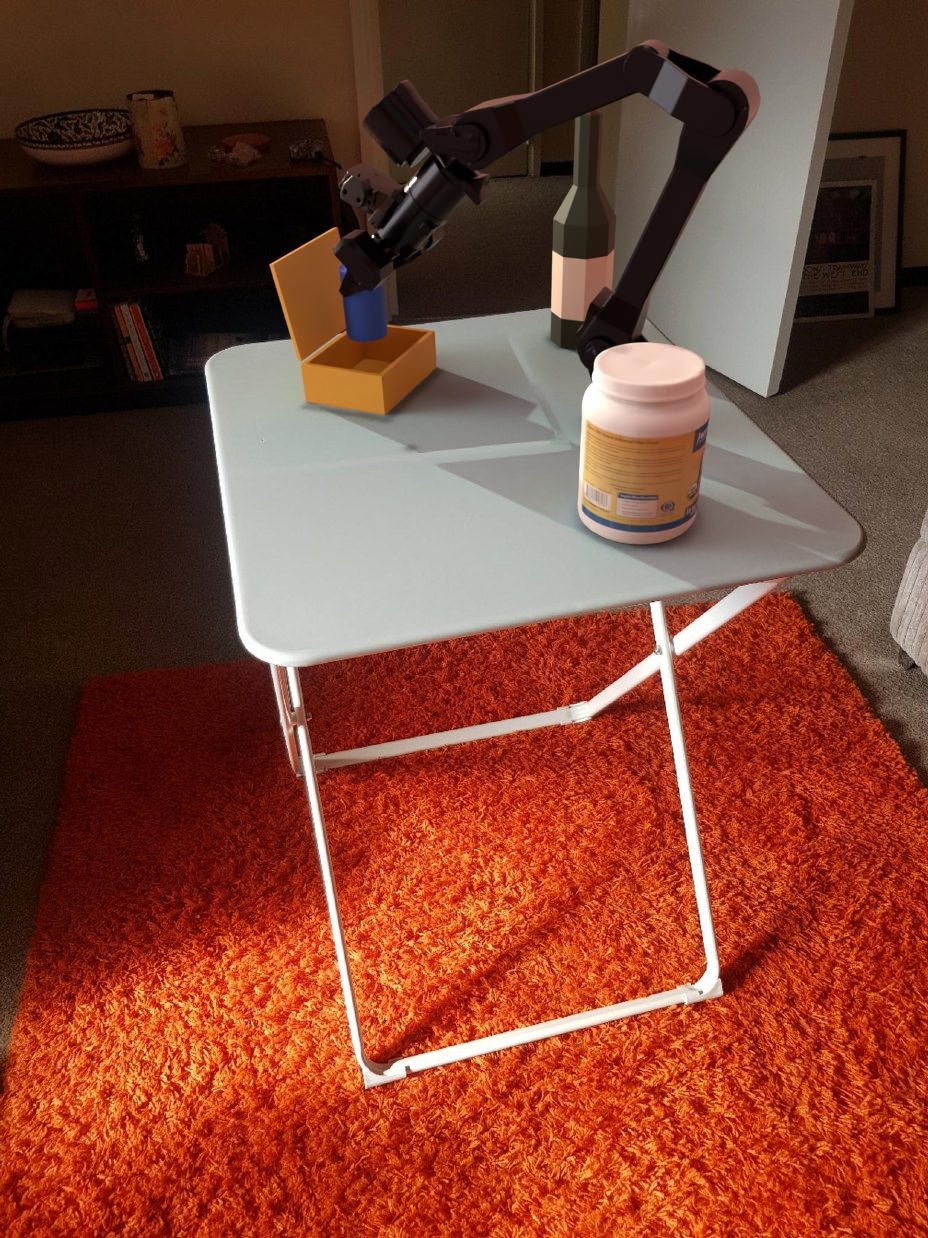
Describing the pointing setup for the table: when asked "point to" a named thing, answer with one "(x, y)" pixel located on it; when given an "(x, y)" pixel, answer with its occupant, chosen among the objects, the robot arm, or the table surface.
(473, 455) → the table surface
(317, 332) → the lunchbox lid
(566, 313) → the wine bottle
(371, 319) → the bottle
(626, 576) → the table surface
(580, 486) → the supplement tub
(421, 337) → the box
